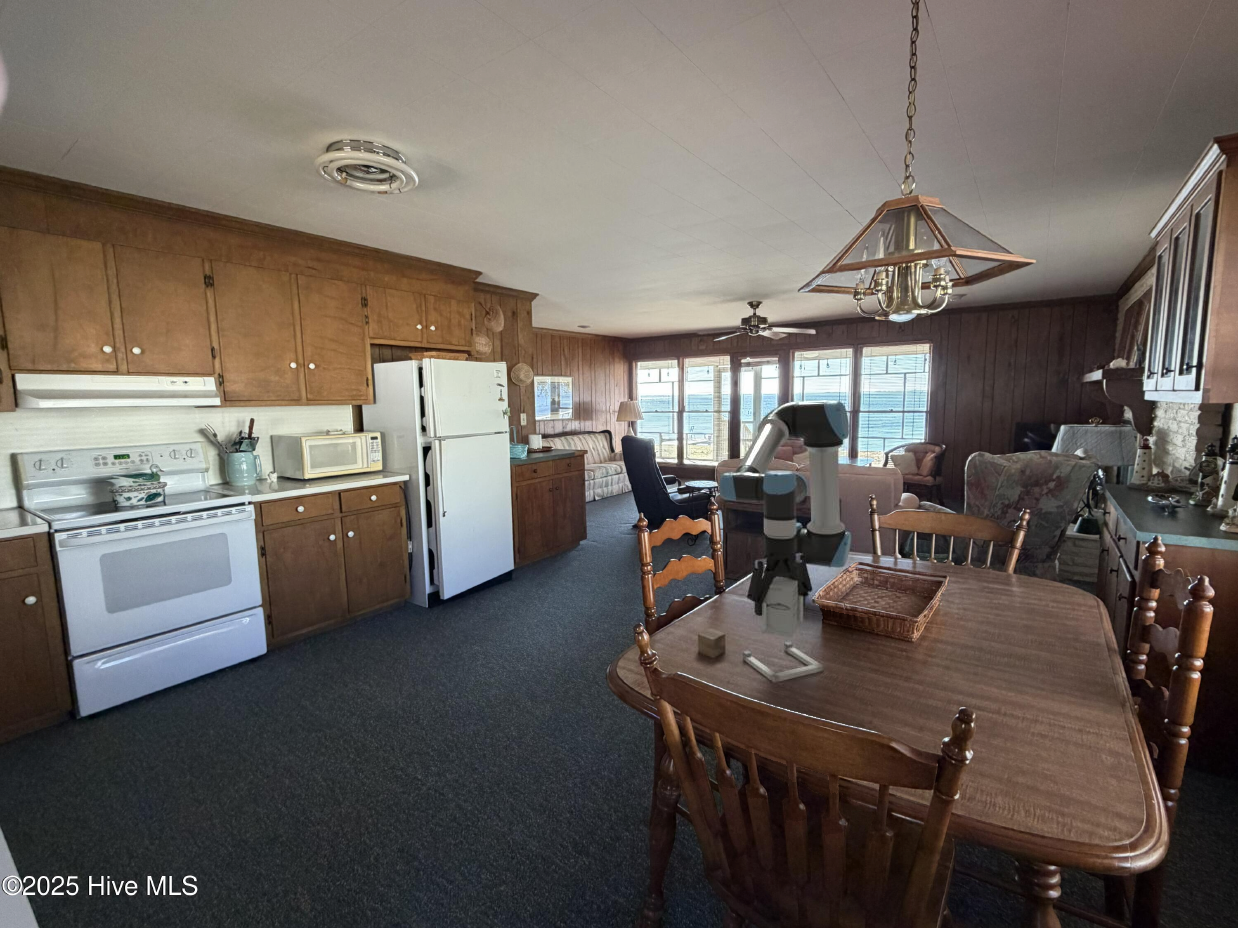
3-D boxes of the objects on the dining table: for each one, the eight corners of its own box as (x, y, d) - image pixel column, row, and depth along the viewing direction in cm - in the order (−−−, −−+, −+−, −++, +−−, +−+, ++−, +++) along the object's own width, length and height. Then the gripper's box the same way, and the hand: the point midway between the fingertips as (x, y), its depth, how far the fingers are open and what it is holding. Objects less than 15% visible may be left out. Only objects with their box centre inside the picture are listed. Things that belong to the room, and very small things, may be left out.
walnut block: (710, 646, 148) (710, 628, 148) (725, 651, 145) (725, 633, 144) (698, 651, 145) (697, 633, 145) (713, 658, 141) (712, 639, 141)
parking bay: (788, 648, 145) (788, 641, 144) (823, 670, 133) (823, 662, 132) (742, 659, 140) (742, 651, 140) (774, 682, 128) (773, 674, 128)
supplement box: (761, 633, 134) (761, 583, 133) (768, 622, 141) (768, 574, 139) (792, 638, 131) (792, 587, 129) (798, 627, 137) (798, 577, 136)
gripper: (807, 527, 140) (807, 611, 143) (731, 537, 133) (732, 625, 135) (828, 532, 133) (828, 621, 136) (748, 543, 126) (749, 637, 128)
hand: (780, 623), depth 136 cm, fingers closed on supplement box, 10 cm apart
